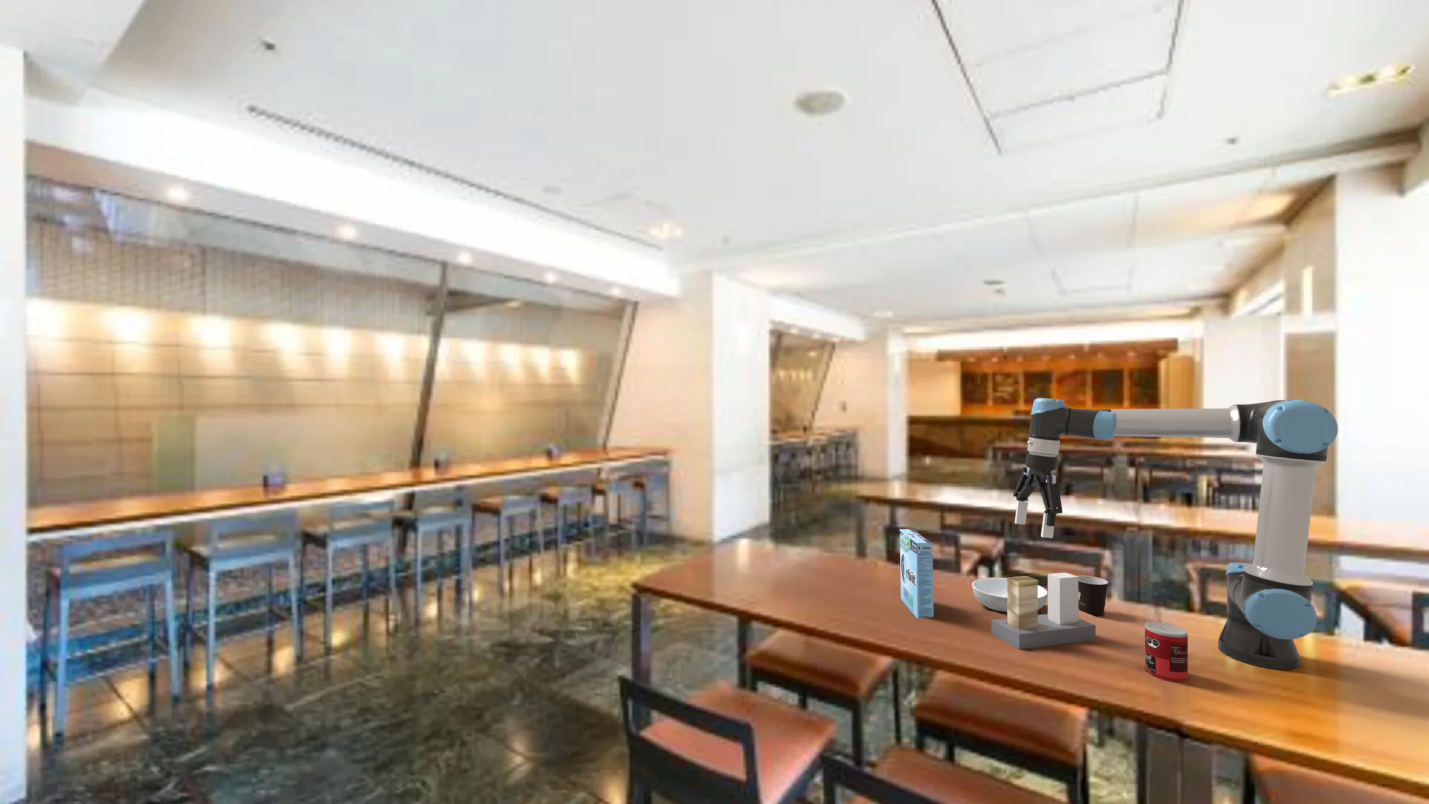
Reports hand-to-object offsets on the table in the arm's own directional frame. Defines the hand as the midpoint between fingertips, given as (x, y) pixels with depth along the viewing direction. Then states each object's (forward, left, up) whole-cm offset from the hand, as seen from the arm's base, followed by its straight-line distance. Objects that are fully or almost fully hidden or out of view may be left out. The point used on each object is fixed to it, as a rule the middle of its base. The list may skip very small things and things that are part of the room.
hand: (1032, 530), depth 161 cm
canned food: (-28, -12, -29) cm, 42 cm away
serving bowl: (+18, -8, -29) cm, 35 cm away
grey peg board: (-5, +1, -29) cm, 29 cm away
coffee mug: (+10, -31, -29) cm, 44 cm away
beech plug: (-5, +7, -28) cm, 29 cm away
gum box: (+25, +20, -29) cm, 44 cm away
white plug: (-5, -6, -28) cm, 28 cm away
